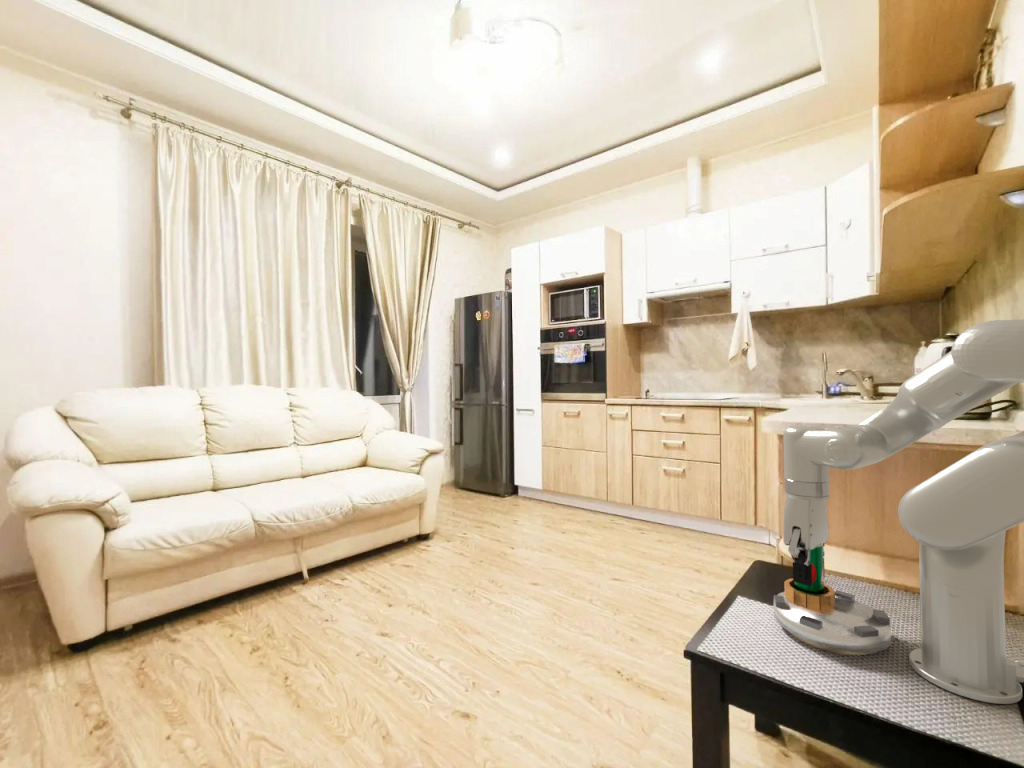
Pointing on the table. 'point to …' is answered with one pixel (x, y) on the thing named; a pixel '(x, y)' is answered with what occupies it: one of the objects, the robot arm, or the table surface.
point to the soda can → (814, 572)
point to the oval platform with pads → (832, 619)
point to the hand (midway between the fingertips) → (808, 578)
